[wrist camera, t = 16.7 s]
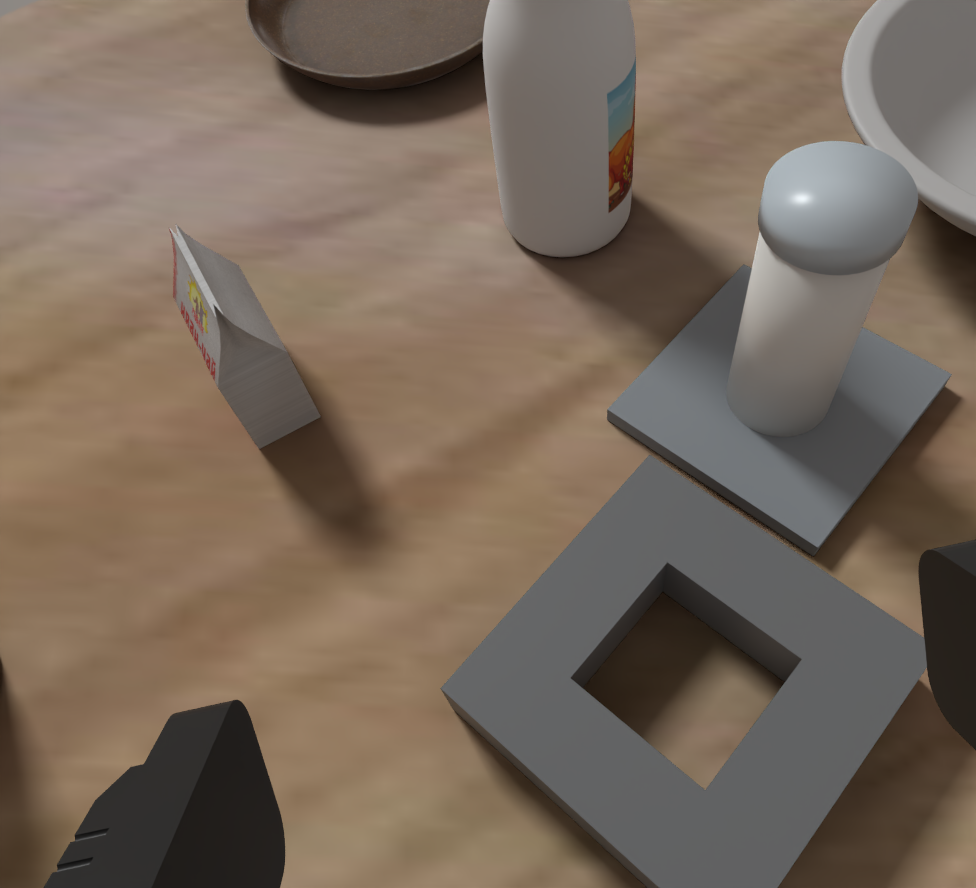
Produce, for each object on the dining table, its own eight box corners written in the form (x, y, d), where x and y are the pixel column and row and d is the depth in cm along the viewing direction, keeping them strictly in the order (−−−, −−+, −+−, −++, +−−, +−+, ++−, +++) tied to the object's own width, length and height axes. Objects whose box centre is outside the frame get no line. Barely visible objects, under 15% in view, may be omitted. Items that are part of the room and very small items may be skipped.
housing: (452, 709, 39) (440, 688, 36) (646, 489, 43) (649, 454, 40) (720, 954, 33) (732, 954, 30) (912, 672, 37) (939, 648, 34)
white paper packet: (274, 334, 51) (208, 208, 42) (320, 417, 48) (259, 298, 39) (216, 363, 50) (137, 241, 42) (259, 449, 47) (182, 335, 38)
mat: (607, 419, 45) (607, 409, 45) (741, 276, 49) (743, 264, 48) (813, 556, 41) (818, 547, 40) (944, 385, 44) (951, 374, 43)
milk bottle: (579, 282, 50) (567, -68, 33) (477, 226, 53) (417, -120, 36) (656, 200, 53) (682, -165, 36) (554, 151, 56) (533, -206, 39)
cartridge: (700, 402, 44) (735, 204, 33) (761, 333, 46) (814, 122, 34) (795, 460, 42) (867, 270, 30) (855, 386, 44) (946, 179, 32)
